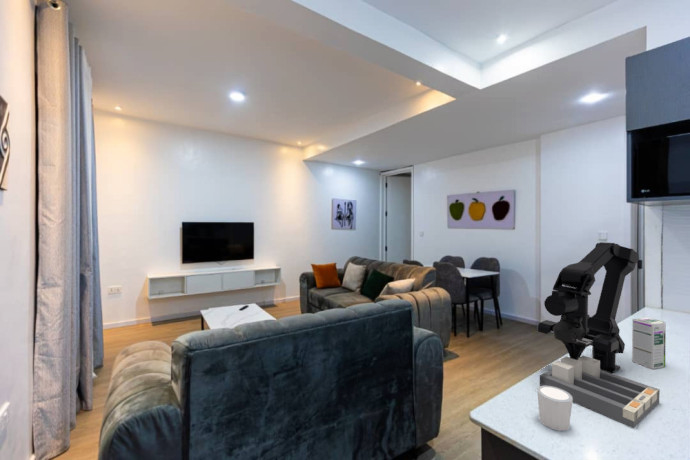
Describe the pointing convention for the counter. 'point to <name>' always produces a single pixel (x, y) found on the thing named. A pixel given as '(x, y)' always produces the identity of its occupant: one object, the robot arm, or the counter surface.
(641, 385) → the switch bank
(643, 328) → the syrup box
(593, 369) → the tab
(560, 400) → the white cup
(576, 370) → the beige rectangular block
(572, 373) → the cream rectangular block
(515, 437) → the counter surface
